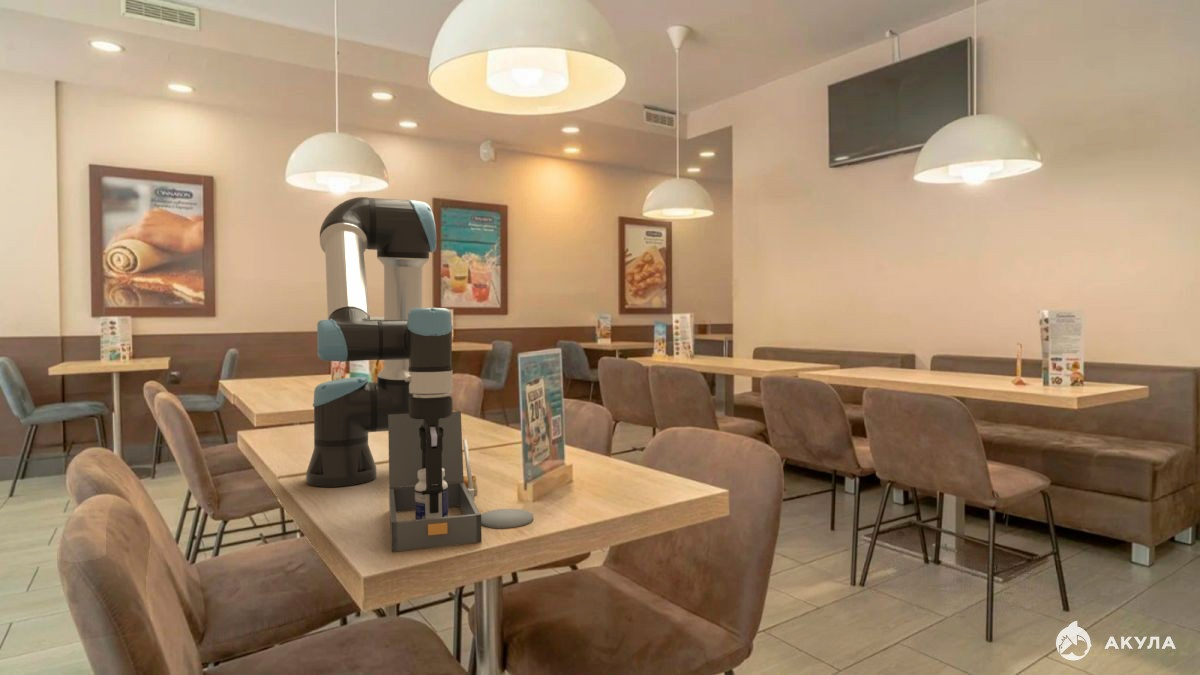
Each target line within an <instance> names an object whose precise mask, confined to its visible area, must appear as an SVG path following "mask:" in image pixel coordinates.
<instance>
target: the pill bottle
mask: <svg viewBox="0 0 1200 675" xmlns="http://www.w3.org/2000/svg"><path fill="white" fill-rule="evenodd" d="M444 476H445V470H444V468H442V487H443V491H442V517H449V507H448V485H447V483H446V482H445V481H444V480H443V477H444ZM418 479H419V482H418V483H417V484H416V486H415V510H414V512H415V513H414V514H415V515H414V516H415V517H414V518H415V519H414V520H418V519H425V495H422V491H425V490H426V468H424V469H421V470H419V471H418Z"/></svg>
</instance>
